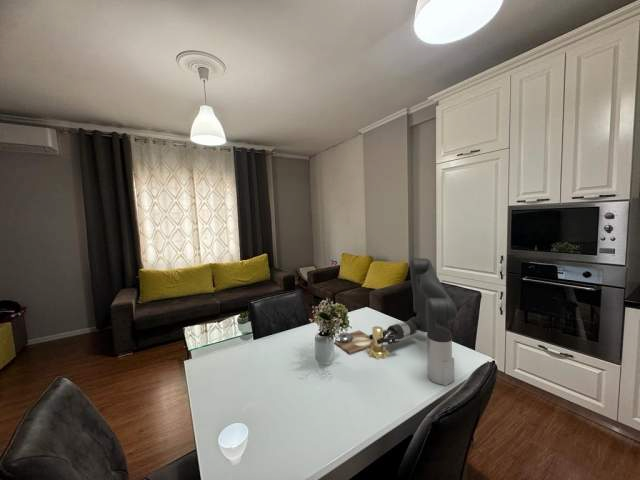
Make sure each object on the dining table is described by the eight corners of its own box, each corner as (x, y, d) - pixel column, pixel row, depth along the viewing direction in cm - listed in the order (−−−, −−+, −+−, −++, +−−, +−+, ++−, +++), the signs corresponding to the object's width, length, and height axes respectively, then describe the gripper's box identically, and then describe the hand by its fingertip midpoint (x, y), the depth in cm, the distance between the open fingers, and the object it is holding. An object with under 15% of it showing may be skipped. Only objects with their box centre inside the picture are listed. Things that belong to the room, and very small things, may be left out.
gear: (355, 340, 139) (355, 334, 139) (342, 345, 134) (341, 338, 134) (345, 334, 147) (345, 328, 147) (332, 338, 143) (332, 331, 143)
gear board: (380, 344, 137) (380, 341, 137) (349, 354, 127) (349, 352, 127) (359, 332, 152) (359, 330, 152) (330, 340, 143) (330, 338, 142)
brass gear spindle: (392, 355, 125) (391, 329, 124) (377, 361, 120) (376, 334, 119) (378, 347, 133) (378, 323, 132) (364, 352, 129) (363, 327, 128)
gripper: (388, 319, 139) (363, 327, 131) (409, 329, 127) (383, 337, 118) (388, 333, 140) (364, 341, 131) (409, 343, 127) (384, 353, 119)
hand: (373, 339), depth 125 cm, fingers closed on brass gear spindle, 5 cm apart
